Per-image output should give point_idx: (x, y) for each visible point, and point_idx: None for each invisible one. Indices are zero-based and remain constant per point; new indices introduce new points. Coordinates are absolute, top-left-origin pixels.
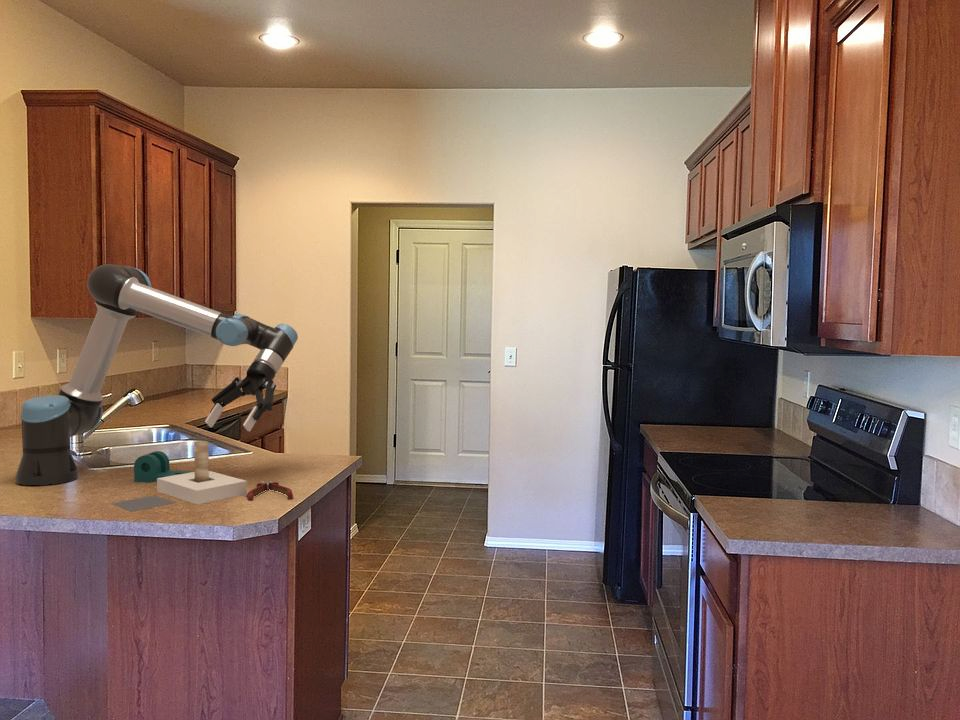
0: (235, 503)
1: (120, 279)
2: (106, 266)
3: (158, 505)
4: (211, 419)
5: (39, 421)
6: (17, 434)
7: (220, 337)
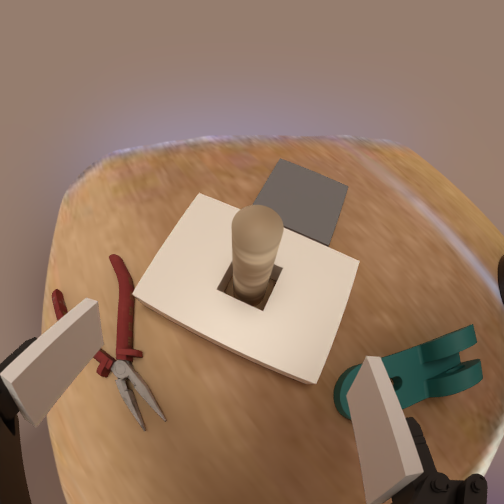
0: (142, 247)
1: None
2: None
3: (266, 190)
4: (364, 392)
5: None
6: None
7: None
